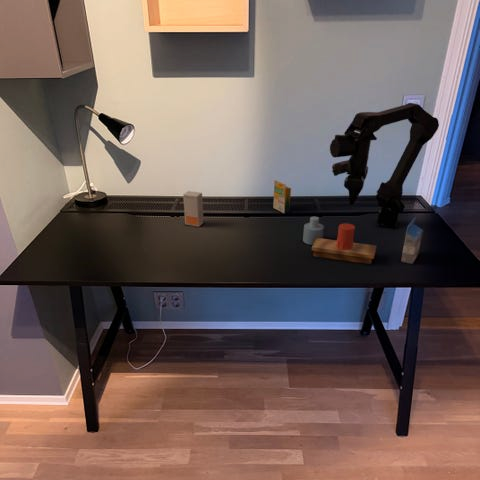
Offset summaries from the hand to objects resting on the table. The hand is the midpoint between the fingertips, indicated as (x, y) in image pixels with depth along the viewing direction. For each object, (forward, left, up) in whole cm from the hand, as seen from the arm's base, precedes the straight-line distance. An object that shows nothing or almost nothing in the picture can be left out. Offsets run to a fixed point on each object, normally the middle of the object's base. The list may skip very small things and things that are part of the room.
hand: (353, 200), depth 161 cm
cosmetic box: (+57, +11, -12) cm, 59 cm away
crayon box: (+29, -13, -12) cm, 34 cm away
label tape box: (-22, +15, -12) cm, 29 cm away
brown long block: (-1, +20, -12) cm, 24 cm away
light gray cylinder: (+11, +12, -12) cm, 20 cm away
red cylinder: (-1, +20, -9) cm, 22 cm away
